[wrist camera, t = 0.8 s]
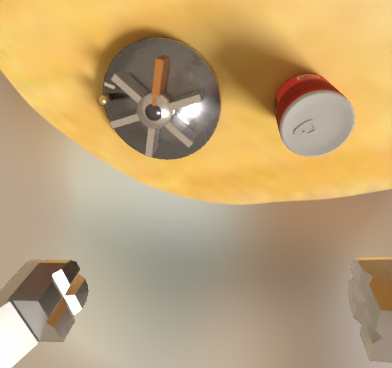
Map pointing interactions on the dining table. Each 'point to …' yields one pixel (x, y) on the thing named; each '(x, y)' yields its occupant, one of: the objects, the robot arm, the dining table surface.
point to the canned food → (312, 115)
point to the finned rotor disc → (156, 106)
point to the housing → (176, 86)
